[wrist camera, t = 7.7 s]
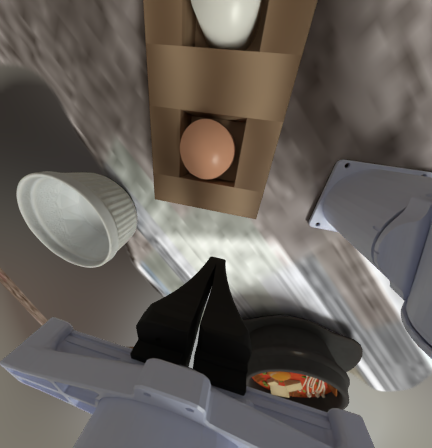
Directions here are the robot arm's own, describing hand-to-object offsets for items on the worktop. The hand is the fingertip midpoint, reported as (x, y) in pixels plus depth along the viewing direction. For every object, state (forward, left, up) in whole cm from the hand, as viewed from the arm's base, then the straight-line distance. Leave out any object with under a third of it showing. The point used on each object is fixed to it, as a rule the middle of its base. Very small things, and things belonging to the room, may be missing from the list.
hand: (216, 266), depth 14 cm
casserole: (-15, +23, -10) cm, 29 cm away
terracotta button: (+3, -9, -8) cm, 12 cm away
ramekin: (+20, +2, -10) cm, 22 cm away
